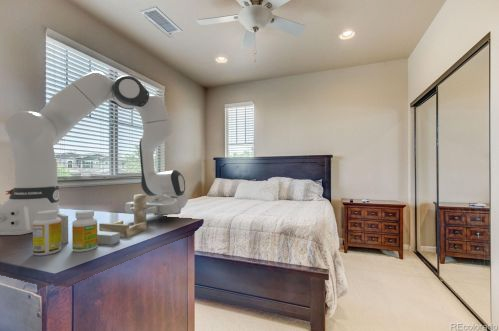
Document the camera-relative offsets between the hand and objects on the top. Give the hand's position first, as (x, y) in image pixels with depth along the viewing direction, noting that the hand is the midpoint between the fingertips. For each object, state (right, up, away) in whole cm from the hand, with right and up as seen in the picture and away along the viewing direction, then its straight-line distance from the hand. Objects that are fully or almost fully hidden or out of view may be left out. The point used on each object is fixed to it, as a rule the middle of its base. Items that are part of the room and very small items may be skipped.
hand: (138, 210), depth 87 cm
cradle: (-2, -6, -7) cm, 9 cm away
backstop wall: (-4, -6, -17) cm, 18 cm away
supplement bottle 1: (-11, -6, -25) cm, 28 cm away
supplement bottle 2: (-4, -6, -23) cm, 24 cm away
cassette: (-16, -6, -15) cm, 23 cm away
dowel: (0, -5, +1) cm, 6 cm away
